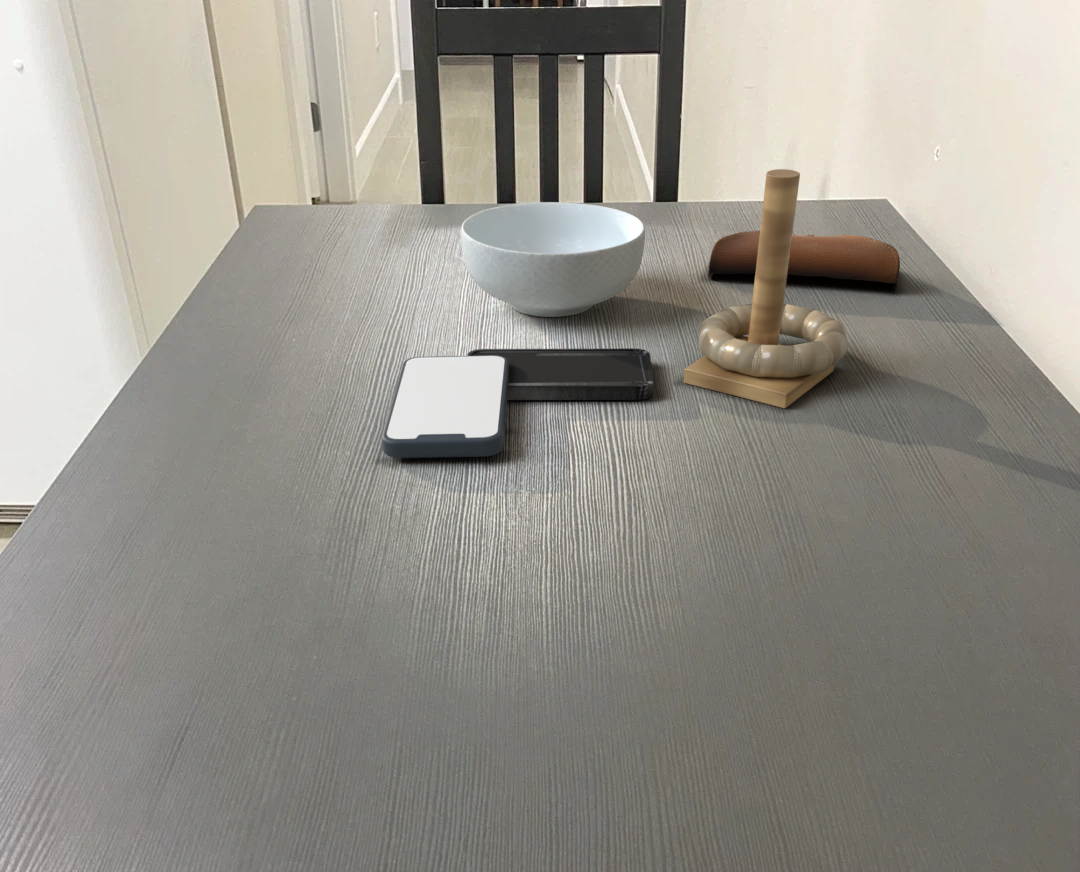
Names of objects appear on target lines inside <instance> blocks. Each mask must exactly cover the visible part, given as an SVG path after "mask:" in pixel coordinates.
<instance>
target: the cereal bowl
mask: <svg viewBox="0 0 1080 872" xmlns="http://www.w3.org/2000/svg"><path fill="white" fill-rule="evenodd" d="M645 239H646V228H645V224H644V223H643V221H642V220H641V219H640V218H638V217H637V216H635V215H633V214H631V213H628V212H626V211H623V210H620V209H616V208H613V207H608V206H602V205H595V204H587V203H579V202H577V203H576V202H563V201H562V202H561V201H560V202H559V201H558V202H557V201H547V202H546V201H540V202H536V201H535V202H524V203H523V202H522V203H512V204H506V205H500V206H495V207H491V208H487V209H484V210H480V211H478V212H476V213H474V214H472V215H470V216H469V217H467V218H466V219H465V220H464V221H463V223H462V225H461V228H460V243H461V253H462V257H463V261H464V265H465V269H466V271H467V273H468V275H469V277H471V279H472V280H473V282H474V283H475V284H476V285H477V286H478V288H480V289H481V290H482V291H484V292H485V293H486V294H488V295H489V296H491V297H492V298H495V299H497V300H499V301H502V302H503V303H506V304H509V305H510V307H511V308H512V309H514V310H515V311H516V312H519V313H521V314H525V315H528V316H533V317H534V316H535V317H540V318H541V317H543V318H559V317H560V318H561V317H569V316H575V315H579V314H581V313H585V312H587V311H588V310H590V309H592V307H593V306H594V305H597V304H600V303H604V302H606V301H609V300H610V299H612V298H614V297H616V296H617V295H620V293H621V292H623V291H624V290H625V289H627V288H628V287H629V286H630V284H631V283H632V282H633V281H634V279H635V278H636V277H637V274H638V272H639V270H640V268H641V265H642V260H643V256H644V251H645V243H646V242H645Z"/></svg>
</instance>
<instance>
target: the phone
mask: <svg viewBox="0 0 1080 872" xmlns="http://www.w3.org/2000/svg"><path fill="white" fill-rule="evenodd" d="M479 355H499V356H503V357H505V358H507V359H508V360H509V367H510V368H509V380H508V399H507V401H626V400H627V401H640V400H647V399H650V398H651V397H652V396H653V392H654V374H653V367H652V360H651V353H650V352H649V351H648V350H647V349H643V348H634V347H633V348H629V347H628V348H627V347H626V348H623V347H621V348H476V349H472V350H470V351H468V353H467V355H466V356H479Z"/></svg>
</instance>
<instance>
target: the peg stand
mask: <svg viewBox="0 0 1080 872" xmlns="http://www.w3.org/2000/svg"><path fill="white" fill-rule="evenodd" d="M800 178H801V173H800V172H799V171H797V170H793V169H785V168H778V169H777V168H776V169H770V170H768V171H767V172H766V174H765V183H764V192H763V193H764V194H763V201H762V211H761V218H760V219H761V220H760V228H759V231H760V237H759V246H758V255H757V264H756V273H754V283H753V291H752V292H753V293H752V301H751V304H752V310H751V319H750V328H749V335H748V336H746V335H743V336H738V337H735V338H736V339H740V340H744V341H748V342H753V343H757V344H761V345H782V344H780V343H779V342H780V336H781V334H780V328H781V320H782V312H783V304H785V297H786V296H785V295H786V288H787V279H788V274H787V273H788V265H789V257H790V250H791V242H792V235H794V234H793V233H794V226H795V225H794V224H795V219H796V218H795V217H796V211H797V204H798V203H797V202H798V194H799V186H800ZM835 364H836V363H835ZM835 364H834V365H833V366H831V367H830V368H829V369H827V370H826V371H824V372H820V373H815V374H810V375H805V376H800V377H795V378H772V377H754V376H750V375H746V374H742V373H738V372H734V371H730V370H726V369H724V368H722V367H720V366H719V365H717V364H716V363H714V362H713V361H711V360H710V359H708V358H707V357H705V356H704V355H703V356H702V357H700V358H699V359H697V360H695V361H694V362H693V363H691V364H690V365H688V366H686V367H684V369H683V371H684V372H683V384H687V385H692V386H695V387H699V388H703V389H707V390H711V391H714V392H718V393H723V394H726V395H731V396H733V397H734V396H735V397H738V398H741V399H746V400H749V401H753V402H758V403H762V404H766V405H769V406H773V407H777V408H781V409H786V408H788V407H789V406H791V404H793V403H794V402H796V401H797V400H798V399H799V398H800V397H802V396H803V395H805V394H806V393H808V391H810V390H811V389H812V388H813V387H814V386H817V384H818V383H820V382H821V381H823V380H824V379H825V378H826V377H828V376H829V375H830V374H832V373H833V372H834V370H835Z"/></svg>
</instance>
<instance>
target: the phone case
mask: <svg viewBox="0 0 1080 872" xmlns="http://www.w3.org/2000/svg"><path fill="white" fill-rule="evenodd" d="M509 368H510V367H509V360H508V359H507V358H505V357H503V356H499V355H479V356H467V355H443V356H442V355H441V356H438V355H437V356H435V355H434V356H414V357H410V358H407V359H406V360H404V361H403V362H402V364H401V368H400V372H399V376H398V379H397V383H396V386H395V389H394V393H393V397H392V400H391V403H390V407H389V409H388V413H387V417H386V421H385V425H384V428H383V431H382V435H381V444H382V450H383V454H385V455H386V456H387V457H390V458H394V459H421V458H422V459H424V458H425V459H427V458H475V457H491V456H494V455H497V454H499V453H501V452H502V450H503V449H504V444H505V433H506V428H507V422H508V413H509V412H508V400H507V399H508V380H509Z"/></svg>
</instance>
